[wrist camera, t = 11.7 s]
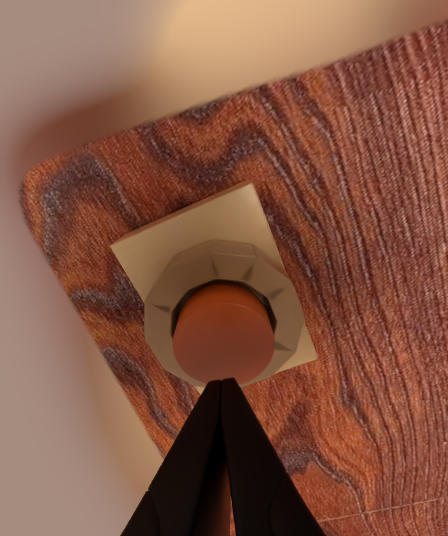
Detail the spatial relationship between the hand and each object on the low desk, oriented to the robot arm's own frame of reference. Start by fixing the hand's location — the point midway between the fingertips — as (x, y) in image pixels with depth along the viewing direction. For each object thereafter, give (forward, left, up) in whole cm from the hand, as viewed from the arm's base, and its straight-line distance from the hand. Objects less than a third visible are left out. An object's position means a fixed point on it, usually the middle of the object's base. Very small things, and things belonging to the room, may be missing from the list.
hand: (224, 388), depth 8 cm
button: (0, 0, -4) cm, 4 cm away
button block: (0, 0, -7) cm, 7 cm away
